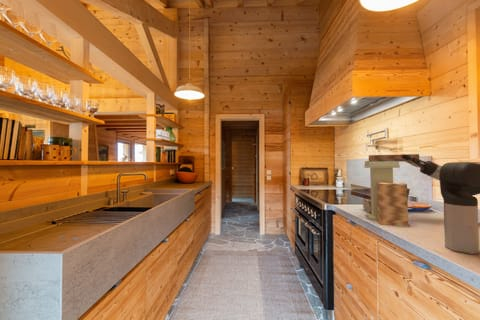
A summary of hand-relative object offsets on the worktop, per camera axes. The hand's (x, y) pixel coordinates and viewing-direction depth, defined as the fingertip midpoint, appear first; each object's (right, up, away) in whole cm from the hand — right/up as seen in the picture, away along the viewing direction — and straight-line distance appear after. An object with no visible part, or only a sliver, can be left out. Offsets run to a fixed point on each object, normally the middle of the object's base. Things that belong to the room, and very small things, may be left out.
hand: (401, 155), depth 125 cm
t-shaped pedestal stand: (-9, -38, +3) cm, 39 cm away
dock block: (-10, -37, -7) cm, 39 cm away
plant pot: (+12, -38, +21) cm, 45 cm away
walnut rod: (-4, -3, +1) cm, 5 cm away
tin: (-6, -38, +21) cm, 44 cm away
